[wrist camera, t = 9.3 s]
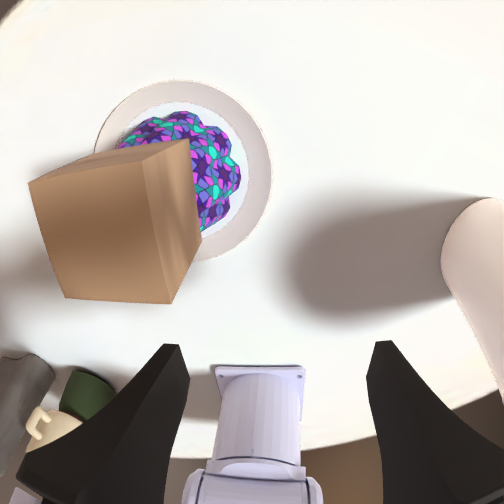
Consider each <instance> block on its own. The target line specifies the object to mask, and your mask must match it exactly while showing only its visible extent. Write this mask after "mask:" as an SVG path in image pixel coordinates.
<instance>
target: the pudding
mask: <svg viewBox="0 0 504 504" xmlns="http://www.w3.org/2000/svg"><path fill="white" fill-rule="evenodd" d="M171 102H187V103H192V104H196V105H200V106H202V107H205V108H207V109H209V110H211V111H213V112H215V113H216V114H217V115H219V116H220V117H222V118H223V119H224V120H225V121H226V122H227V123H228V124H229V125H230V126H231V127H232V128H233V129H234V131H235V132H236V134H237V136H238V137H239V139H240V140H241V142H242V145H243V147H244V150H245V152H246V156H247V160H248V165H249V182H248V189H247V193H246V196H245V199H244V202H243V204H242V206H241V207H240V209H239V211H238V213H237V214H236V215H235V216H234V218H233V219H232V220H231V221H230V222H229V223H228V224H227V225H226V226H225V227H223V228H222V229H221V230H219V231H217V232H216V233H214V234H212V235H210V236H207V237H204V238H202V243H201V245H200V247H199V249H198V251H197V253H196V254H195V256H194V258H193V260H192V262H196V261H203V260H208V259H211V258H214V257H217V256H220V255H223V254H224V253H226V252H228V251H230V250H232V249H234V248H235V247H236V246H238V245H239V244H240V243H241V242H243V241H244V240H245V239H246V238H247V237H248V236H249V235H250V234H251V233H252V231H253V230H254V229H255V228H256V227H257V225H258V223H259V222H260V220H261V218H262V216H263V215H264V213H265V210H266V207H267V205H268V202H269V199H270V195H271V188H272V182H273V174H272V160H271V156H270V151H269V146H268V144H267V142H266V139H265V137H264V134H263V132H262V130H261V128H260V127H259V125H258V124H257V122H256V121H255V119H254V118H253V116H252V115H251V114H250V113H249V112H248V111H247V109H246V108H245V107H244V106H243V105H242V104H241V103H240V102H239V101H237V100H236V99H234V98H233V97H231V96H230V95H229V94H227V93H226V92H224V91H222V90H220V89H218V88H215V87H213V86H211V85H208V84H205V83H200V82H196V81H191V80H170V81H164V82H158V83H155V84H152V85H149V86H147V87H144V88H142V89H140V90H138V91H137V92H135V93H133V94H132V95H130V96H128V97H127V98H126V99H125V100H124V101H123V102H122V103H120V104H119V105H118V106H117V107H116V108H115V110H114V111H113V112H112V113H111V115H110V116H109V117H108V119H107V120H106V122H105V124H104V126H103V128H102V130H101V132H100V134H99V137H98V140H97V143H96V146H95V152H94V153H99V152H104V151H109V150H114V149H115V148H116V145H117V142H118V140H119V138H120V136H121V134H122V133H123V131H124V130H125V128H126V127H127V126H128V125H129V123H130V122H131V121H132V120H133V119H135V118H136V117H137V116H138V115H139V114H141V113H142V112H144V111H146V110H148V109H149V108H151V107H154V106H157V105H160V104H164V103H171ZM188 138H189V143H190V152H191V161H192V170H193V178H194V186H195V194H196V201H197V209H198V216H199V224H200V231H201V232H202V231H203V230H205V229H207V228H208V227H210V226H212V225H213V224H215V223H216V222H218V221H219V220H221V219H222V218H224V217H225V216H226V214H227V212H228V211H229V209H230V202H229V195H231V194H232V193H233V192H234V191H236V190H237V189H238V188H239V184H240V180H241V174H240V169H239V166H238V165H237V164H236V163H235V162H234V161H233V160H232V159H231V158H230V152H231V146H232V144H231V142H230V140H229V138H228V136H227V134H226V133H224V132H223V131H222V130H221V129H219V128H218V127H217V126H204V125H203V124H202V122H201V120H200V119H199V117H198V116H197V115H196V114H193V113H190V112H188V111H179V112H174V113H173V114H172V115H170V116H169V117H168V118H167V119H166V120H165V119H161V118H157V117H152V118H149V119H147V120H145V121H143V122H142V123H141V124H140V125H139V126H138V127H137V128H136V129H135V130H134V131H133V132H132V133H131V134H130V135H129V136H128V137H127V138H126V139H125V140H124V141H123V142H122V143H121V144H120V145H119V147H118V148H117V149H120V148H125V147H131V146H137V145H143V144H150V143H157V142H164V141H172V140H180V139H188Z"/></svg>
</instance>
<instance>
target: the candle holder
mask: <svg viewBox="0 0 504 504" xmlns="http://www.w3.org/2000/svg"><path fill="white" fill-rule="evenodd" d="M441 271H442V275H443V278H444V280H445V282H446V284H447V286H448V288H449V290H450V291H451V293H452V295H453V297H454V298H455V300H456V302H457V304H458V306H459V307H460V309H461V311H462V313H463V315H464V316H465V318H466V320H467V322H468V324H469V326H470V328H471V330H472V332H473V333H474V335H475V337H476V339H477V341H478V343H479V345H480V348H481V350H482V352H483V354H484V356H485V358H486V360H487V362H488V365H489V367H490V369H491V371H492V374H493V376H494V378H495V381H496V383H497V385H498V388H499V390H500V393H501V396H502V400H503V404H504V201H502V200H499V199H495V198H487V199H482V200H479V201H477V202H475V203H473V204H471V205H470V206H469V207H467V208H466V209H465V210H464V211H463V212H462V213H461V214H460V215H459V216H458V217H457V218H456V220H455V221H454V223H453V224H452V226H451V227H450V229H449V231H448V233H447V235H446V238H445V240H444V244H443V247H442V252H441Z"/></svg>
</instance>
